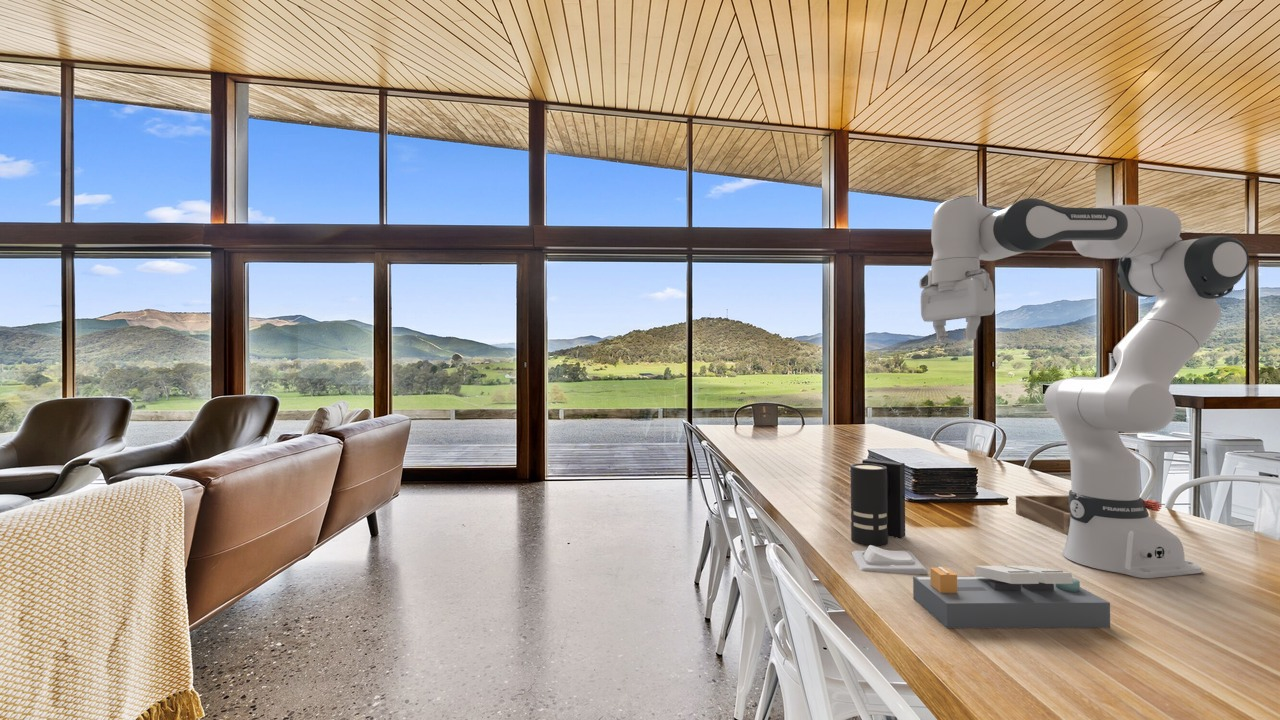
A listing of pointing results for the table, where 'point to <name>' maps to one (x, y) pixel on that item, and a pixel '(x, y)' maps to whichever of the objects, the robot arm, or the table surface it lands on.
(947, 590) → the slider knob
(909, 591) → the table surface
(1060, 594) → the panel
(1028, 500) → the frame
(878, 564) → the light switch
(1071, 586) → the button
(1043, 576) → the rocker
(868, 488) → the light fixture
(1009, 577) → the panel
